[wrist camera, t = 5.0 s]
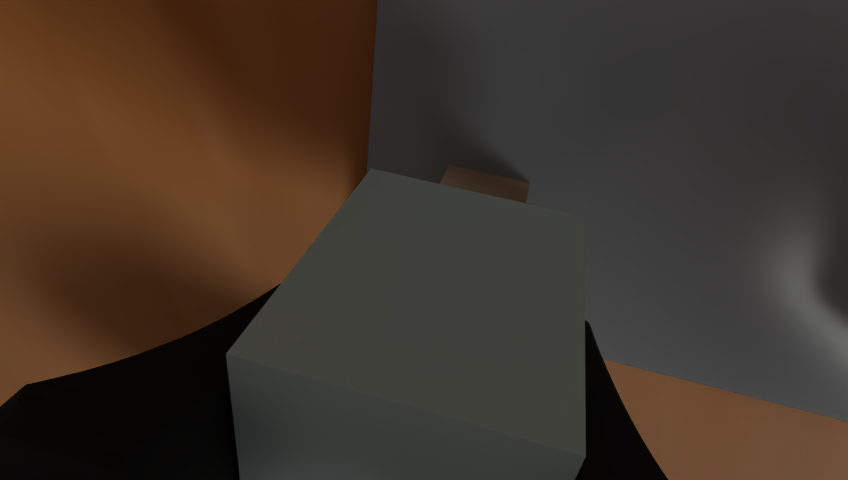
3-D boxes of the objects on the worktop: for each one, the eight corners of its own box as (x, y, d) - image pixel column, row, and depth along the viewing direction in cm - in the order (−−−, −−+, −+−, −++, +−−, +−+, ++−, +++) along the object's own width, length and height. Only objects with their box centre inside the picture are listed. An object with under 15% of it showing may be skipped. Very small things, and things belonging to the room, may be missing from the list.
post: (530, 182, 17) (512, 275, 13) (512, 250, 18) (492, 353, 14) (448, 164, 17) (407, 249, 13) (438, 232, 19) (397, 328, 15)
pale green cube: (584, 216, 13) (585, 457, 7) (532, 371, 15) (505, 626, 10) (371, 168, 13) (225, 354, 8) (359, 324, 16) (246, 540, 11)
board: (1580, -462, 8) (1666, -493, 7) (845, 405, 19) (854, 423, 19) (422, -512, 11) (412, -539, 10) (365, 283, 22) (358, 295, 21)
